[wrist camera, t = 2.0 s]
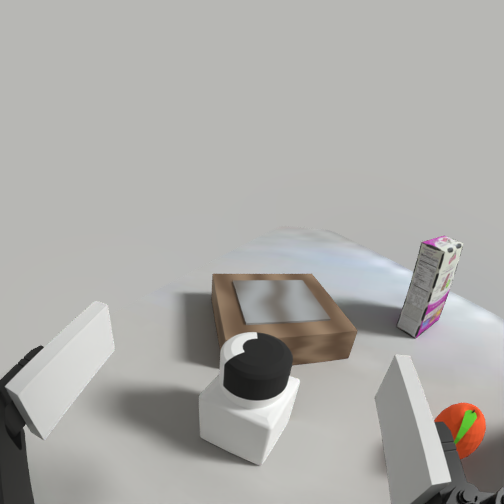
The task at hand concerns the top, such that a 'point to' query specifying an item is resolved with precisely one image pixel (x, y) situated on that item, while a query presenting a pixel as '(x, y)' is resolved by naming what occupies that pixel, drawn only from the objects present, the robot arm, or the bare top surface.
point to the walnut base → (283, 314)
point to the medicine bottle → (249, 396)
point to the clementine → (464, 426)
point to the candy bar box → (429, 284)
